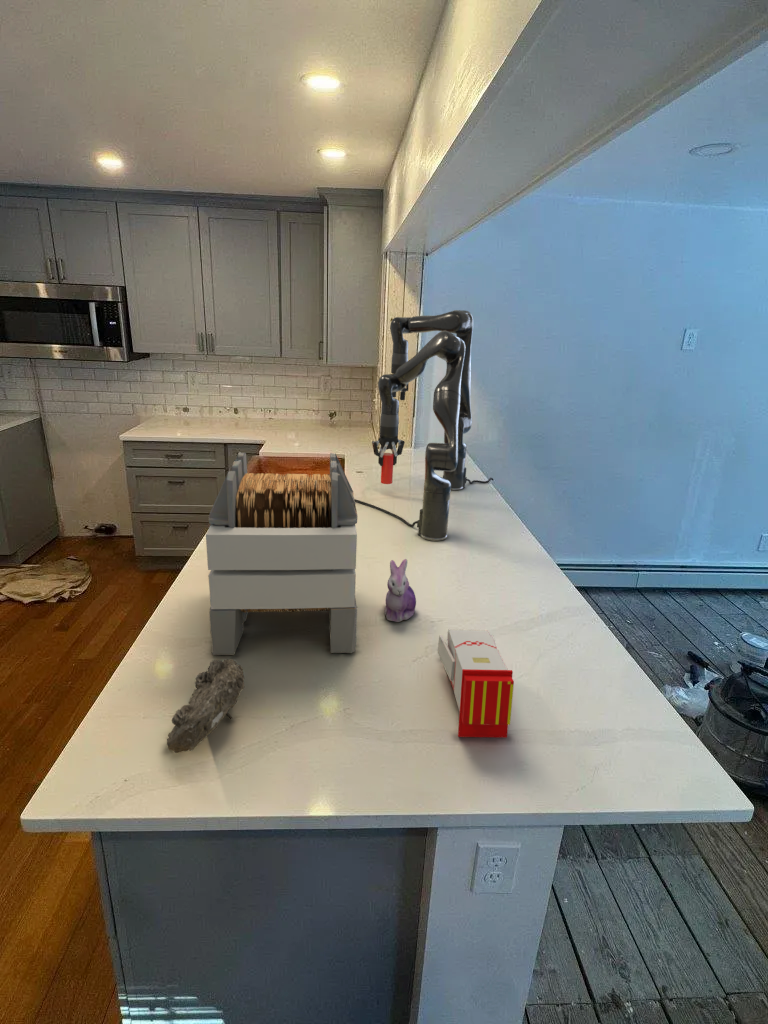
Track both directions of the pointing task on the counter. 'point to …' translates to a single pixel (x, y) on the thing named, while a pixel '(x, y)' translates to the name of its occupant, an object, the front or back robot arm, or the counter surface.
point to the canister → (387, 468)
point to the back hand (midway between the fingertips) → (397, 398)
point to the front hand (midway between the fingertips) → (387, 465)
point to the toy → (478, 682)
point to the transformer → (282, 551)
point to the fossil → (206, 705)
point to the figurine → (399, 594)
